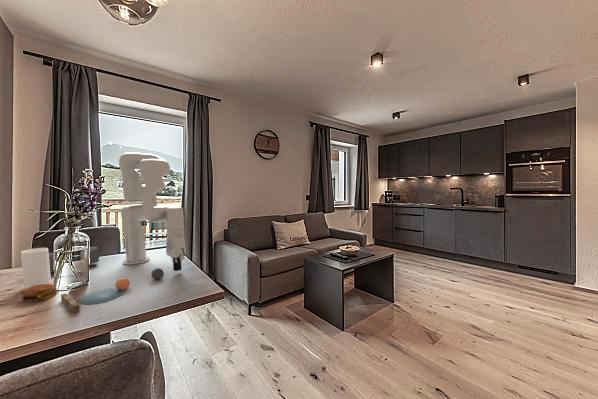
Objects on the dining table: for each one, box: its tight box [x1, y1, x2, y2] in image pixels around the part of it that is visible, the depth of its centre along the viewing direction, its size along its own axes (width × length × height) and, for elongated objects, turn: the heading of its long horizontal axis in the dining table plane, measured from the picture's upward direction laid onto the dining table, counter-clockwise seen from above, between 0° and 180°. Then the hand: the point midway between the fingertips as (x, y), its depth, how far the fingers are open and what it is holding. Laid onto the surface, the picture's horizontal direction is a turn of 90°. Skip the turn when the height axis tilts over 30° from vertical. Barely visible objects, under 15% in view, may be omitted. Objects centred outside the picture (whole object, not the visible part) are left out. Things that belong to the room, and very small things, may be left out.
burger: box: [21, 283, 57, 303], centre depth 103 cm, size 10×9×5 cm
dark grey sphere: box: [150, 267, 165, 281], centre depth 120 cm, size 5×5×5 cm
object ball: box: [115, 277, 131, 291], centre depth 109 cm, size 5×5×5 cm
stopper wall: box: [60, 292, 81, 314], centre depth 96 cm, size 16×2×2 cm, turn 54°
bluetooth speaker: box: [48, 246, 100, 272], centre depth 136 cm, size 23×9×10 cm, turn 134°
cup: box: [20, 247, 52, 291], centre depth 113 cm, size 8×8×16 cm
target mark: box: [79, 287, 125, 305], centre depth 104 cm, size 14×14×1 cm
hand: (177, 270), depth 128 cm, fingers closed
